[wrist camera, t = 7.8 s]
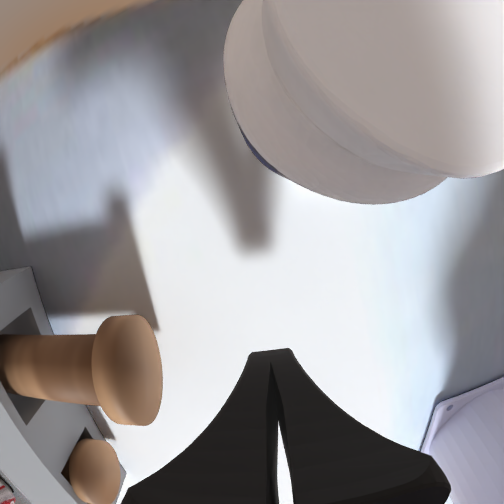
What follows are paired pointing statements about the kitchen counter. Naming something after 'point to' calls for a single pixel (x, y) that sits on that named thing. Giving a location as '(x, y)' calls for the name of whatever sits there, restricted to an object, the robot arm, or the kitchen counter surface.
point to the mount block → (37, 409)
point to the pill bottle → (369, 92)
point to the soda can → (6, 494)
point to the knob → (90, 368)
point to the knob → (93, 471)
